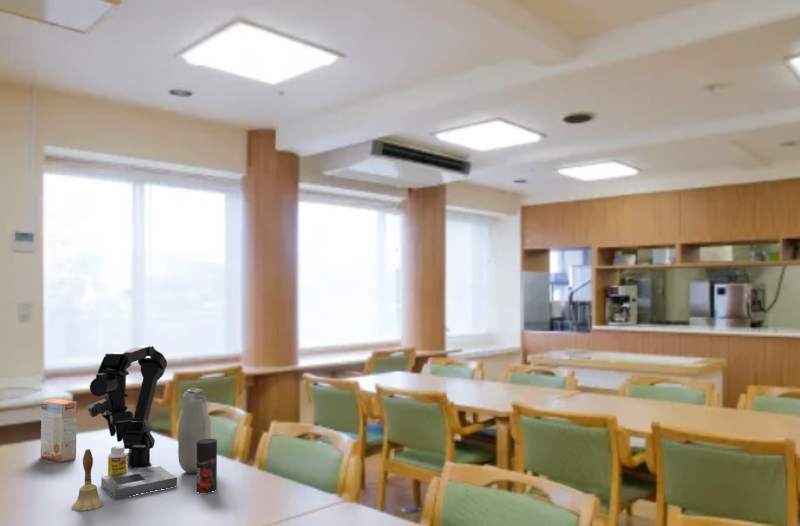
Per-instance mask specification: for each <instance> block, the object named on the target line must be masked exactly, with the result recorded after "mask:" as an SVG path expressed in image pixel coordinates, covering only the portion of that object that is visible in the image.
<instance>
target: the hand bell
mask: <svg viewBox="0 0 800 526" xmlns="http://www.w3.org/2000/svg"><path fill="white" fill-rule="evenodd" d="M93 463H94V457H93V454H92V451H91V448H87V449H85V451H84V454H83V458H82V465H83V469H84V485H82V486H81V487H79V491H78V496H77V499H76V501H75V502H74V504H73V505H72V506H71V510H72V511H74V510H75V512H87V510H88V511H92V510H96V509H100V508H101V507H102V506H104V504H105V502H104V501H105V500H103V499H102V498H101V497H100V496H99V492H98V487H97V485H96V484H93V482H92V468H93V465H94V464H93Z"/></svg>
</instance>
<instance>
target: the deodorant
mask: <svg viewBox="0 0 800 526" xmlns="http://www.w3.org/2000/svg"><path fill="white" fill-rule="evenodd" d="M217 466H218V440H217V439H216V438H211V439H202V440H198V441H197V473H196V493H197V492H199V493H198V494H200V493H207V494H209V493H208V492H212V491H215V490H216V489H217V486H218V485H217V484H218V483H217V482H218V479H217V478H218V476H217V475H218V471H217V469H218V467H217ZM216 491H217V490H216ZM216 491H215V492H216ZM212 493H213V492H212Z"/></svg>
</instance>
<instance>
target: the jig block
mask: <svg viewBox="0 0 800 526" xmlns="http://www.w3.org/2000/svg"><path fill="white" fill-rule="evenodd" d="M100 480H101V484H100V485H101V488H102V489H103V490H104V491H105V492H106V491H107V492H106V494H108V493H109V494H110V495H111V496H110V495H109V494H108V495H109V496H110V497H111V498H112V499H113V500H115V501H117V500H116V499H118V500H122V499H121V498H123V499H126V498H125V497H127V498H130V497H129V496H132V497H134V496H133V495H136V494H141V493H146V492H150V491H155V490H161V489H166V488H170V489H172V488H171V487H175V486H177V487H178V481H177V480H178V478H177V476H176V475H174V474H173V473H171V472H170V471H168V470H167V469H166V468H164V467H162V465H158V466H154V467H148V468H147V467H146V468H142V469H136V470H131V471H127V472H125V473H119V474H114V475H109V476H108V475H104V476H101V479H100ZM175 488H176V487H175ZM166 490H167V489H166ZM161 491H162V490H161ZM146 494H147V493H146Z"/></svg>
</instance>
